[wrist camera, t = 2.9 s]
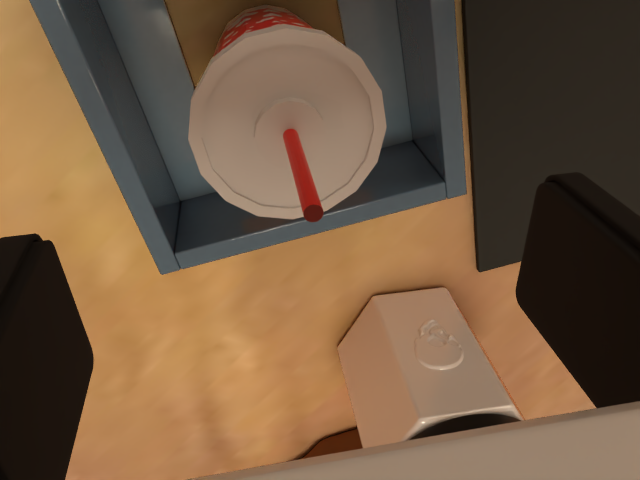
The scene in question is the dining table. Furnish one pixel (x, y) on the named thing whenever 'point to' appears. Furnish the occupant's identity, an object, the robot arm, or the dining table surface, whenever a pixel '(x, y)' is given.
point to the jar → (420, 370)
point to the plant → (337, 444)
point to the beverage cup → (285, 117)
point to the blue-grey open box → (174, 115)
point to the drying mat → (548, 108)
